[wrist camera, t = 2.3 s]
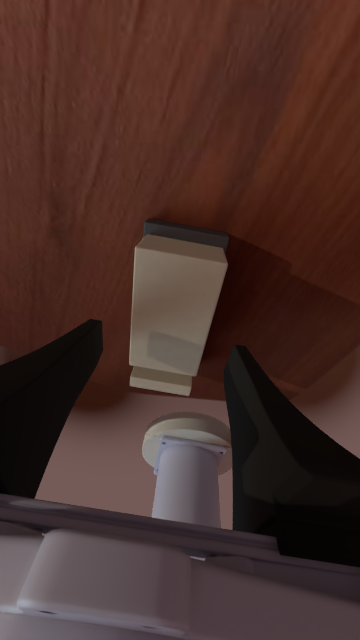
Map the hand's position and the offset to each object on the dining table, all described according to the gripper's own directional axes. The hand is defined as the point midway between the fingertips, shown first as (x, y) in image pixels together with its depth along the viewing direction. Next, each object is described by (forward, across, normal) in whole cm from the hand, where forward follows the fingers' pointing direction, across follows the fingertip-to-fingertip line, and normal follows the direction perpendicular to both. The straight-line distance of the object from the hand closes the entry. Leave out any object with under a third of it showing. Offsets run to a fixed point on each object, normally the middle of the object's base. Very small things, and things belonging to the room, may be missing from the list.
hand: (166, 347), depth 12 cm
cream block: (+5, 0, 0) cm, 5 cm away
